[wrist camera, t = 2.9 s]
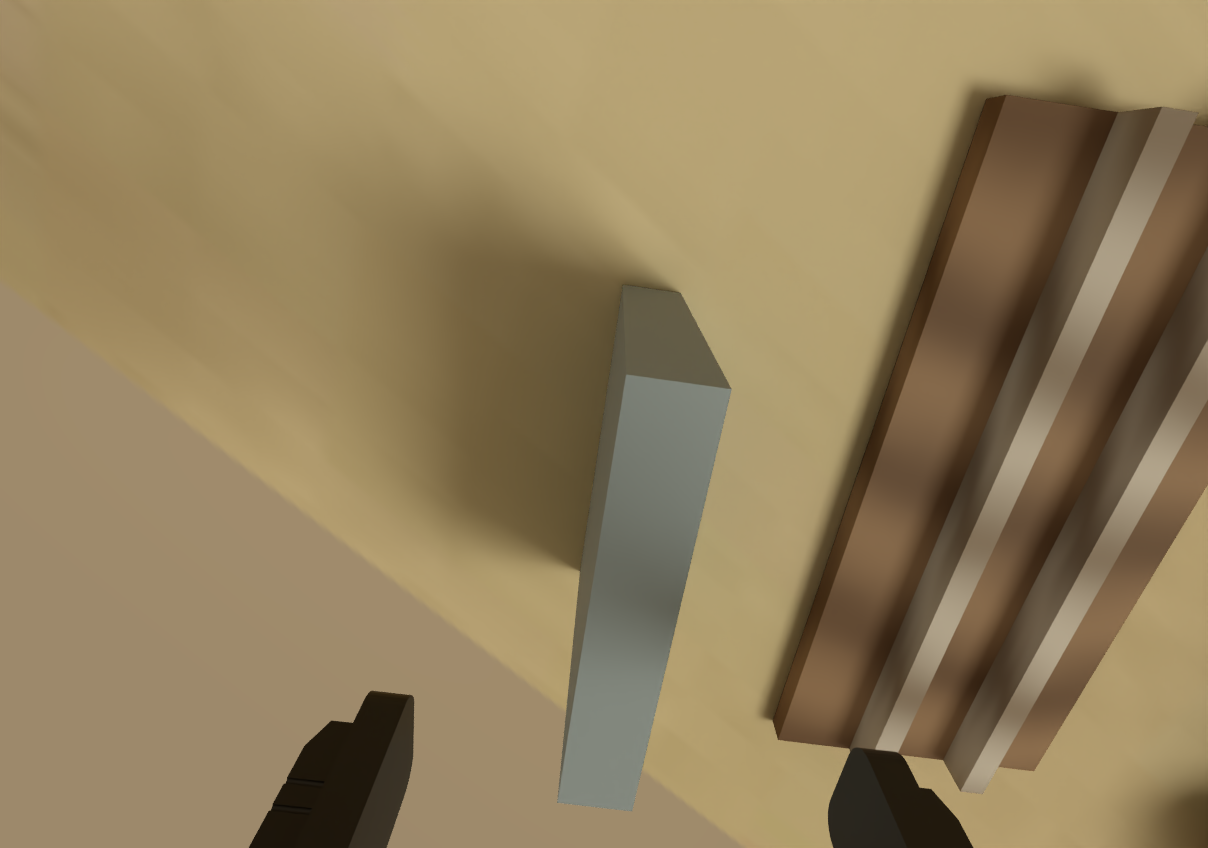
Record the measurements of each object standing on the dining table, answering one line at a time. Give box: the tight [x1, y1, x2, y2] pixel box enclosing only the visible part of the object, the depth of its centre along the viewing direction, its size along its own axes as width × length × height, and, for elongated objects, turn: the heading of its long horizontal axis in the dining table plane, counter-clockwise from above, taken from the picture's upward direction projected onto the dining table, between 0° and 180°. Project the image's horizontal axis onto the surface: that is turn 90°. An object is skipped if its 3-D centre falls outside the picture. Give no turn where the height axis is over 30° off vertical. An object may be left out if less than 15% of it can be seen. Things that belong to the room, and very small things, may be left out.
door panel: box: [557, 285, 731, 811], centre depth 18 cm, size 12×2×10 cm, turn 172°
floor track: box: [773, 95, 1208, 794], centre depth 22 cm, size 26×12×2 cm, turn 172°
